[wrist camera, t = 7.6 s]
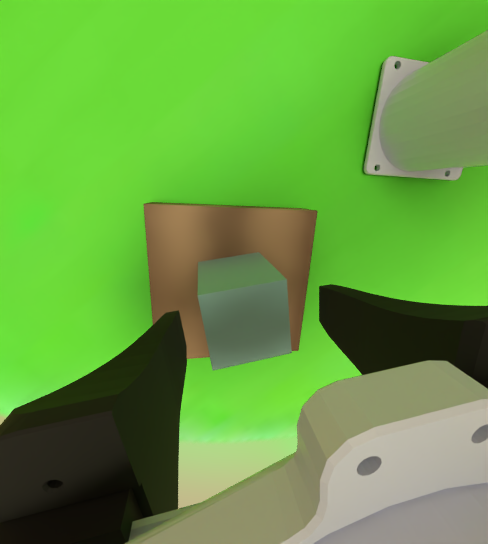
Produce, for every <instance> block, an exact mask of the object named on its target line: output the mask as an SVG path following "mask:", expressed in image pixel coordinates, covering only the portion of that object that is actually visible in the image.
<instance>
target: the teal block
mask: <svg viewBox="0 0 488 544" xmlns="http://www.w3.org/2000/svg"><path fill="white" fill-rule="evenodd" d="M198 300H199V305H200V310H201V315H202V320H203V325H204V330H205V335H206V340H207V345H208V350H209V355H210V359H211V364H212V369H213V370H217V369H222V368H226V367H231V366H235V365H240V364H244V363H248V362H253V361H257V360H262V359H266V358H271V357H275V356H280V355H284V354H289V353H292V352H291V336H290V321H289V306H288V290H287V279H286V278H285V277H284V276H283V275H282V274H281V273H280V272H279V271H278V270H277V269H276V268H275V267H274V266H273V265H272V264H271V263H270V262H269V261H268V260H267V259H265V258H264V257H263V256H262V255H261V254H260V253H259V252H257V253H251V254H245V255H238V256H232V257H226V258H220V259H214V260H208V261H202V262H198Z"/></svg>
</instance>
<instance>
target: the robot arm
mask: <svg viewBox="0 0 488 544" xmlns="http://www.w3.org/2000/svg"><path fill="white" fill-rule="evenodd" d="M395 64H396V65H397V69H395ZM485 165H488V30H487V31H485V32H483V33H482V34H480V35H478V36H476V37H474V38H473V39H471V40H469V41H467V42H466V43H464V44H462V45H460V46H459V47H457V48H455V49H453V50H451V51H450V52H448V53H446V54H444V55H443V56H441V57H439V58H437V59H436V60H434V61H432V62H430V63H429V62H423V61H418V60H412V59H407V58H401V57H395V56H390V57H389V58H387V59H386V60H385V61H384V62H383V65H382V71H381V76H380V82H379V87H378V93H377V98H376V103H375V109H374V114H373V120H372V125H371V131H370V136H369V142H368V147H367V153H366V158H365V163H364V172H365V173H366V174H370V175H384V176H398V177H412V178H425V179H439V180H457V179H458V178H459V177H460V176H461V173H462V170H463V168H464V167H475V166H485ZM375 166H377V169H376V171H375V170H374V167H375ZM445 172H446V174H445ZM319 321H320V323H321V324H322V326H323V328H324V329H325V331H326V332H327V334H328V335H329V337H330V338H331V339H332V340H333V341H334V342H335V344H336V345H337V346H338V347H339V348H340V349H341V350H342V352H343V353H344V354H345V355H346V356H347V357H348V358H349V360H350V361H351V362H352V363H353V364H354V365H355V366H356V368H357V369H358V370H359V371H360V372H361V374H362V375H361V376H357V377H352V378H348V379H344V380H339V381H336V382H334V383H331V384H329V385H327V386H325V387H323V388H320V389H318V390H317V391H316V392H315V393H314V394H313V395H312V396H311V397H310V399H309V400H308V401H307V402H306V403H305V404H304V405H303V407H302V409H301V413H300V416H299V420H298V423H297V439H298V445H297V451H296V452H295V453H293V454H291V455H289V456H287V457H286V458H283V459H282V460H280V461H278V462H276V463H274V464H272V465H270V466H269V467H267V468H265V469H263V470H261V471H259V472H257V473H255V474H254V475H252V476H250V477H248V478H246V479H244V480H242V481H241V482H239V483H237V484H235V485H233V486H231V487H229V488H227V489H226V490H224V491H222V492H220V493H218V494H216V495H214V496H212V497H211V498H209V499H207V500H205V501H203V502H201V503H198V504H194V505H190V506H187V507H183V508H179V509H178V455H179V422H180V409H181V401H182V394H183V387H184V380H185V373H186V365H187V345H186V341H185V336H184V331H183V327H182V322H181V317H180V313H179V310H178V311H172V312H166V313H165V314H164V315H163V316H162V317H161V318H160V319H159V320H158V321H157V322H156V323H155V324H154V325H153V326H151V327H150V328H149V329H148V330H147V331H146V332H145V333H144V334H143V335H142V336H141V337H140V338H139V339H137V340H136V341H135V342H134V343H133V344H132V345H131V346H129V347H128V348H127V349H125V350H124V351H123V352H122V353H120V354H119V355H117V356H116V357H115V358H113V359H112V360H110V361H109V362H107V363H105V364H104V365H102V366H101V367H99V368H97V369H96V370H94V371H92V372H91V373H89V374H87V375H86V376H84V377H82V378H80V379H78V380H76V381H75V382H73V383H71V384H69V385H67V386H65V387H63V388H61V389H59V390H56V391H54V392H52V393H50V394H48V395H45V396H43V397H41V398H39V399H36V400H34V401H32V402H29V403H27V404H25V405H22V406H20V407H18V408H15V409H14V410H13V411H12V412H11V413H10V414H9V416H8V417H7V418H6V419H5V420H4V422H3V423H2V424H1V425H0V544H488V306H457V305H440V304H428V303H419V302H412V301H405V300H399V299H393V298H388V297H384V296H379V295H375V294H370V293H366V292H362V291H359V290H355V289H351V288H347V287H343V286H338V285H331V284H330V285H324V286H319Z"/></svg>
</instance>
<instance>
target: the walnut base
mask: <svg viewBox="0 0 488 544" xmlns="http://www.w3.org/2000/svg"><path fill="white" fill-rule="evenodd" d="M144 215H145V228H146V241H147V253H148V266H149V279H150V292H151V305H152V318H153V325H154V324H155V323H156V322H157V321H158V320H159V319H160V318H161V317H162V316H163V315H164V314H165V313H166V312H172V311H178V310H179V313H180V317H181V322H182V327H183V331H184V336H185V341H186V345H187V359H190V358H203V357H210V355H209V350H208V345H207V340H206V335H205V330H204V325H203V320H202V315H201V310H200V305H199V300H198V262H202V261H208V260H214V259H220V258H226V257H232V256H238V255H245V254H251V253H257V252H259V253H260V254H261V255H262V256H263V257H264V258H265V259H267V260H268V261H269V262H270V263H271V264H272V265H273V266H274V267H275V268H276V269H277V270H278V271H279V272H280V273H281V274H282V275H283V276H284V277H285V278H286V279H287V290H288V306H289V321H290V336H291V351H298V350H299V343H300V335H301V328H302V321H303V313H304V306H305V298H306V291H307V284H308V276H309V269H310V262H311V254H312V247H313V240H314V232H315V225H316V218H317V211H316V210H309V209H302V208H280V207H256V206H232V205H207V204H183V203H159V202H151V203H146V204H144Z"/></svg>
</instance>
